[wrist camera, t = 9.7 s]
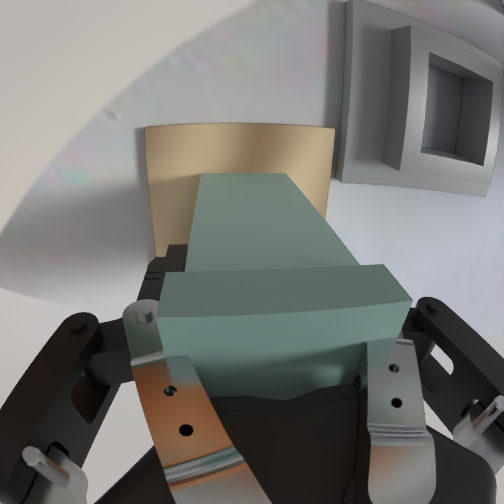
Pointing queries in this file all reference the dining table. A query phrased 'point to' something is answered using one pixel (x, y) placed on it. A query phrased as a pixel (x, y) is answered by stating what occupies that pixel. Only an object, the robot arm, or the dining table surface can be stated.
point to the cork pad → (228, 166)
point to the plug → (272, 293)
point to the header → (413, 104)
